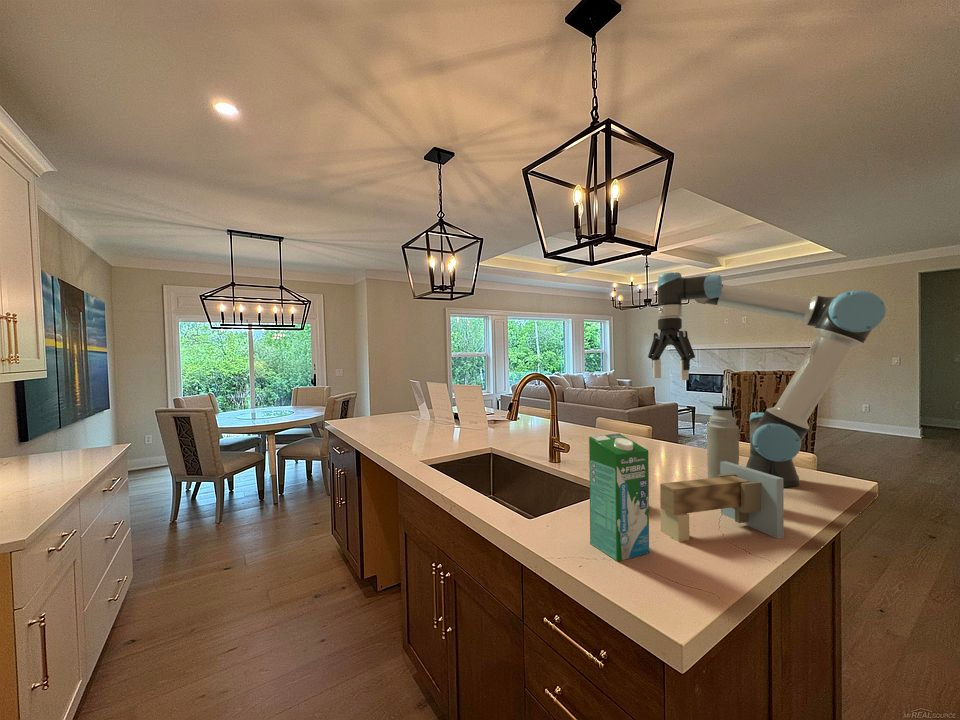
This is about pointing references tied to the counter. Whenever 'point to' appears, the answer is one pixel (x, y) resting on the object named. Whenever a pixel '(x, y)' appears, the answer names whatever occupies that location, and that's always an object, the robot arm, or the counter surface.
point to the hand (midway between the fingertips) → (670, 379)
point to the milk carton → (619, 496)
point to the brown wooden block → (701, 494)
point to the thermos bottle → (722, 440)
